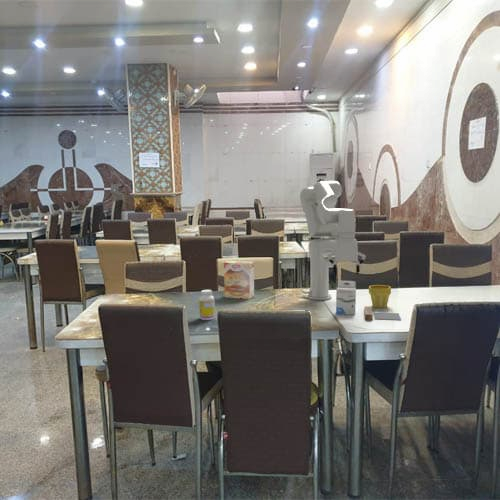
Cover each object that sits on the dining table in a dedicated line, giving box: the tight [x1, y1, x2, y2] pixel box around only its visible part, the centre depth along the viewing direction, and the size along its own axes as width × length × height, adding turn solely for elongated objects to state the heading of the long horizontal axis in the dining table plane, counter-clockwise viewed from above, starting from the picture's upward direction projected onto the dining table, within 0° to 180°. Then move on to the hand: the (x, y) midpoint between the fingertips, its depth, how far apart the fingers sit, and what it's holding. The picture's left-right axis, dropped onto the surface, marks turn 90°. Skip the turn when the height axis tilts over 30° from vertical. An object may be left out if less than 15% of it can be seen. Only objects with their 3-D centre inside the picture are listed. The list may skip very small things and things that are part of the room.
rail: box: [363, 306, 374, 321], centre depth 204 cm, size 3×15×2 cm, turn 168°
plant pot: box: [368, 284, 392, 309], centre depth 221 cm, size 10×10×10 cm
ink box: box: [335, 279, 357, 316], centre depth 210 cm, size 9×5×15 cm, turn 71°
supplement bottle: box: [198, 289, 216, 321], centre depth 204 cm, size 7×7×13 cm
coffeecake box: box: [223, 260, 255, 300], centre depth 247 cm, size 15×7×20 cm, turn 68°
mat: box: [373, 312, 402, 321], centre depth 203 cm, size 11×11×1 cm
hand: (346, 273), depth 208 cm, fingers open, 9 cm apart
